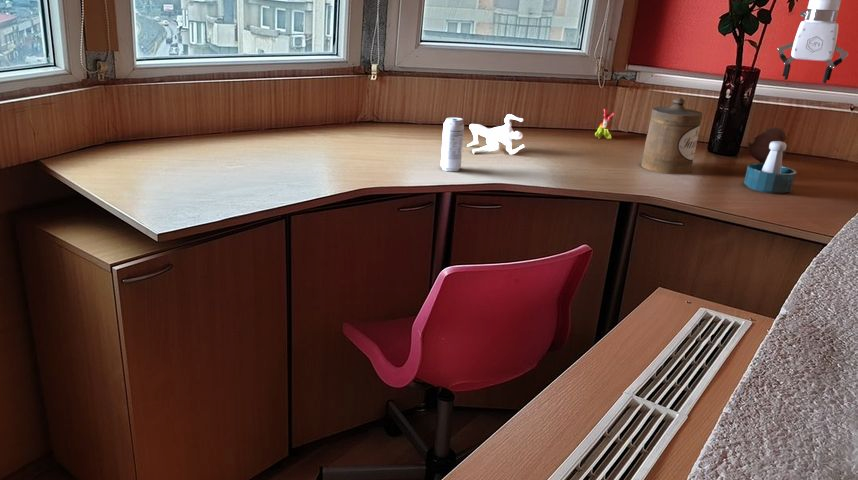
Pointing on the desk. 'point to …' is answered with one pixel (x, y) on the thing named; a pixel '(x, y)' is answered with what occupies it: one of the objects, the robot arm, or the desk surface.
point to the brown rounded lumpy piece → (765, 143)
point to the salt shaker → (774, 157)
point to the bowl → (769, 179)
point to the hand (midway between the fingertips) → (804, 80)
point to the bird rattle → (604, 126)
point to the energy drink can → (452, 144)
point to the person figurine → (497, 136)
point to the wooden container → (671, 139)
